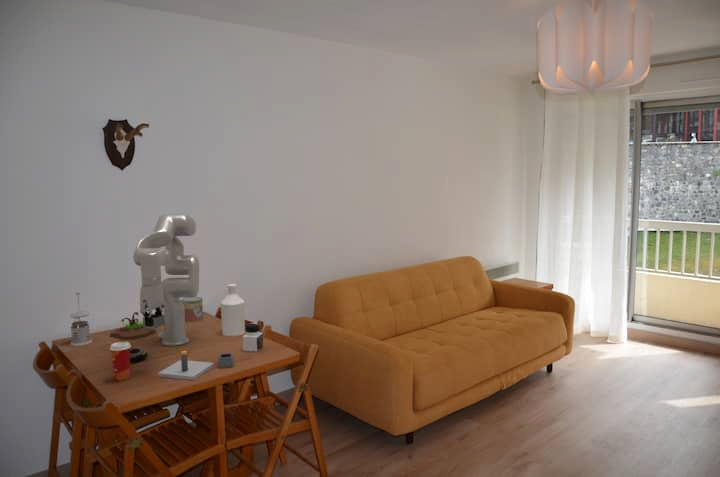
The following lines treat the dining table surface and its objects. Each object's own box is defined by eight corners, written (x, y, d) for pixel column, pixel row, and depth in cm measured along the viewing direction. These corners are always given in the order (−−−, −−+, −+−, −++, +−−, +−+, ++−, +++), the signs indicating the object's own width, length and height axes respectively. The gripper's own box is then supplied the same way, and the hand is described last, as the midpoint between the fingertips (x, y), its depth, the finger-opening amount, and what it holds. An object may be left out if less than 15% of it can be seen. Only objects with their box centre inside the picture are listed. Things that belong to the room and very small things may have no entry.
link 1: (143, 327, 223) (142, 317, 222) (152, 322, 229) (151, 313, 228) (156, 328, 221) (155, 318, 221) (164, 324, 227) (164, 314, 227)
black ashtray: (124, 355, 244) (124, 347, 244) (151, 355, 245) (150, 346, 244) (114, 364, 233) (114, 355, 232) (142, 364, 233) (142, 355, 233)
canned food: (192, 323, 295) (191, 302, 294) (177, 320, 301) (176, 299, 299) (207, 318, 305) (206, 297, 303) (193, 316, 310) (192, 295, 309)
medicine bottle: (257, 352, 248) (256, 326, 247) (242, 351, 250) (242, 325, 248) (263, 347, 255) (262, 322, 254) (249, 346, 257) (248, 321, 255)
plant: (163, 332, 280) (162, 311, 279) (129, 342, 264) (128, 320, 262) (139, 326, 291) (138, 306, 289) (105, 335, 274) (103, 314, 273)
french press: (72, 346, 256) (69, 295, 253) (66, 341, 265) (62, 291, 261) (95, 342, 262) (91, 292, 259) (88, 337, 271) (85, 288, 268)
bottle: (217, 333, 277) (215, 285, 274) (236, 328, 286) (234, 281, 283) (230, 337, 270) (229, 288, 267) (250, 332, 278) (248, 284, 275)
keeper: (158, 376, 219) (157, 353, 217) (180, 363, 234) (179, 341, 233) (193, 380, 215) (192, 357, 213) (214, 366, 230) (213, 344, 229)
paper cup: (115, 374, 221) (113, 341, 219) (135, 374, 221) (133, 340, 220) (108, 382, 213) (106, 347, 211) (128, 381, 213) (126, 347, 212)
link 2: (218, 367, 228) (218, 358, 228) (219, 362, 234) (219, 353, 234) (233, 366, 229) (232, 357, 229) (233, 361, 235) (233, 353, 235)
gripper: (156, 276, 232) (158, 317, 234) (129, 285, 215) (132, 329, 218) (171, 277, 230) (174, 318, 232) (146, 286, 213) (148, 330, 216)
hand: (153, 323), depth 225 cm, fingers closed on link 1, 6 cm apart
